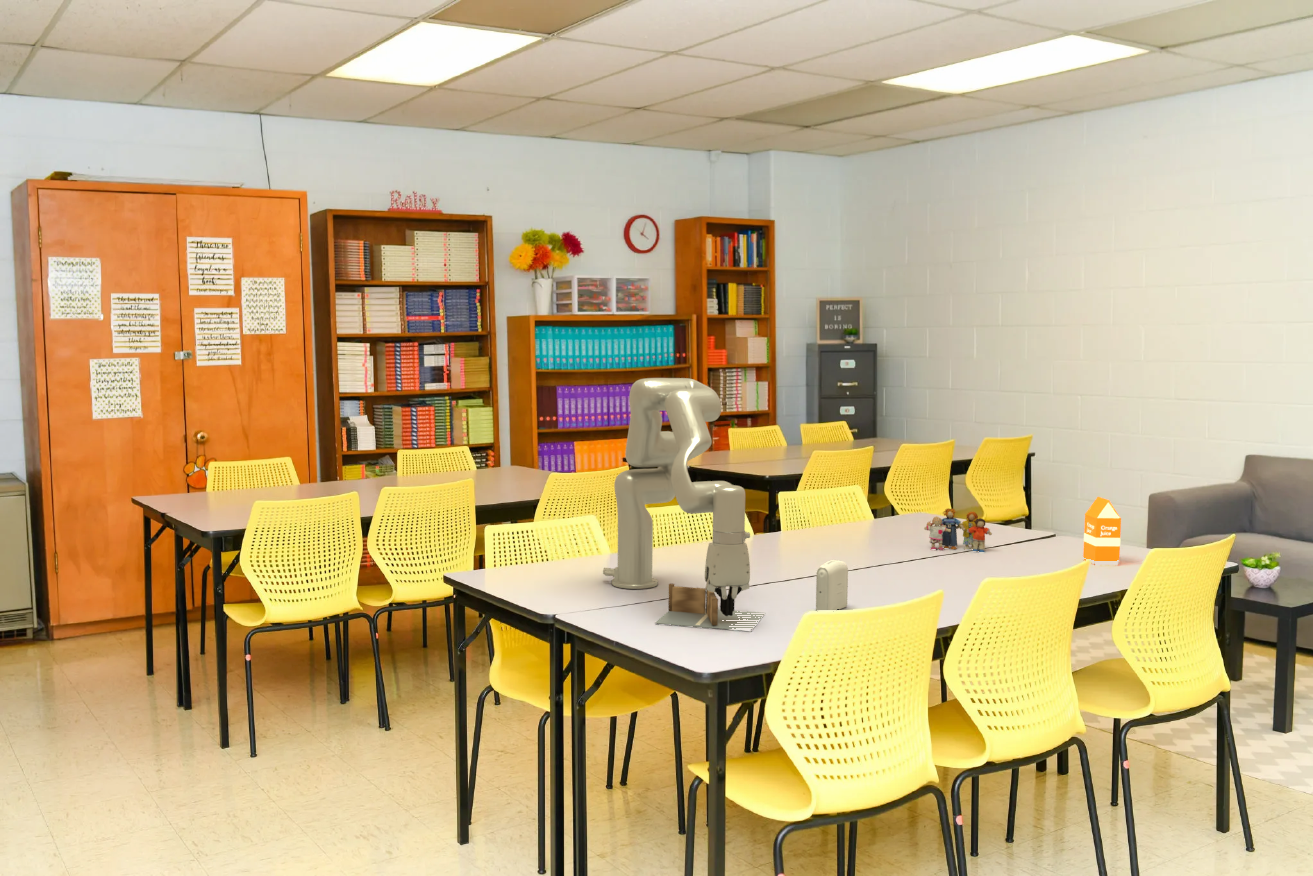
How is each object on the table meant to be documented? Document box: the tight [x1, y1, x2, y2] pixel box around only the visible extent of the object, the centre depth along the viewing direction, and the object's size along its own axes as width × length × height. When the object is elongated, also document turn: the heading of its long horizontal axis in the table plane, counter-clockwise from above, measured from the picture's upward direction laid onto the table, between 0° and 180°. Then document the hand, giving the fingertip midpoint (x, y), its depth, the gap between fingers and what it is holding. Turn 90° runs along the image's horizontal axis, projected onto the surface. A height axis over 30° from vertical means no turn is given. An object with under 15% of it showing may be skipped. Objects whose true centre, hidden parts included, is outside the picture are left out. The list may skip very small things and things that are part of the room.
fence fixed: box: [667, 583, 707, 614], centre depth 275 cm, size 11×1×7 cm, turn 74°
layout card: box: [654, 608, 765, 630], centre depth 270 cm, size 23×18×1 cm
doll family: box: [923, 508, 993, 553], centre depth 367 cm, size 21×10×13 cm, turn 77°
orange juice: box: [1082, 496, 1122, 561], centre depth 345 cm, size 8×9×20 cm
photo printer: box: [815, 559, 849, 611], centre depth 281 cm, size 10×4×12 cm, turn 140°
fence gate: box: [707, 591, 719, 625], centre depth 267 cm, size 12×1×6 cm, turn 4°
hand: (727, 614), depth 266 cm, fingers closed
